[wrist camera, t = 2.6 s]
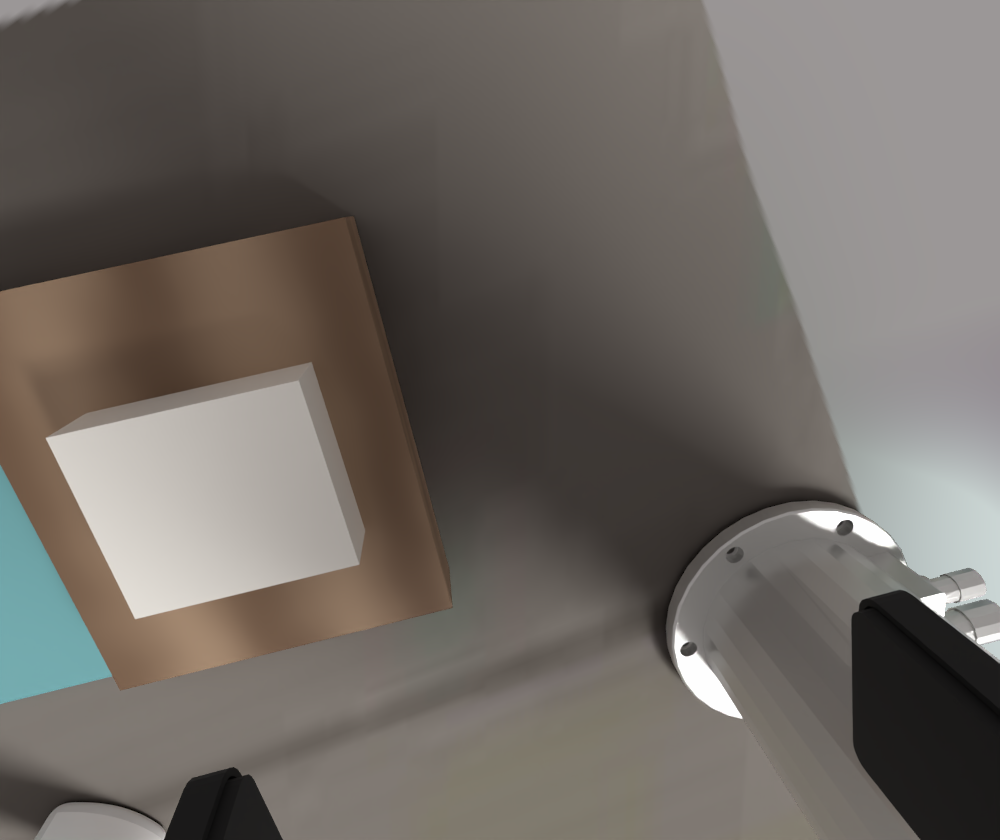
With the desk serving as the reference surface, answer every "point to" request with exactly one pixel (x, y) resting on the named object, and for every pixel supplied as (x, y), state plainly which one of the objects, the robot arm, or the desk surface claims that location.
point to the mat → (37, 614)
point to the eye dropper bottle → (98, 823)
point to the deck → (206, 361)
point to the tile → (214, 489)
